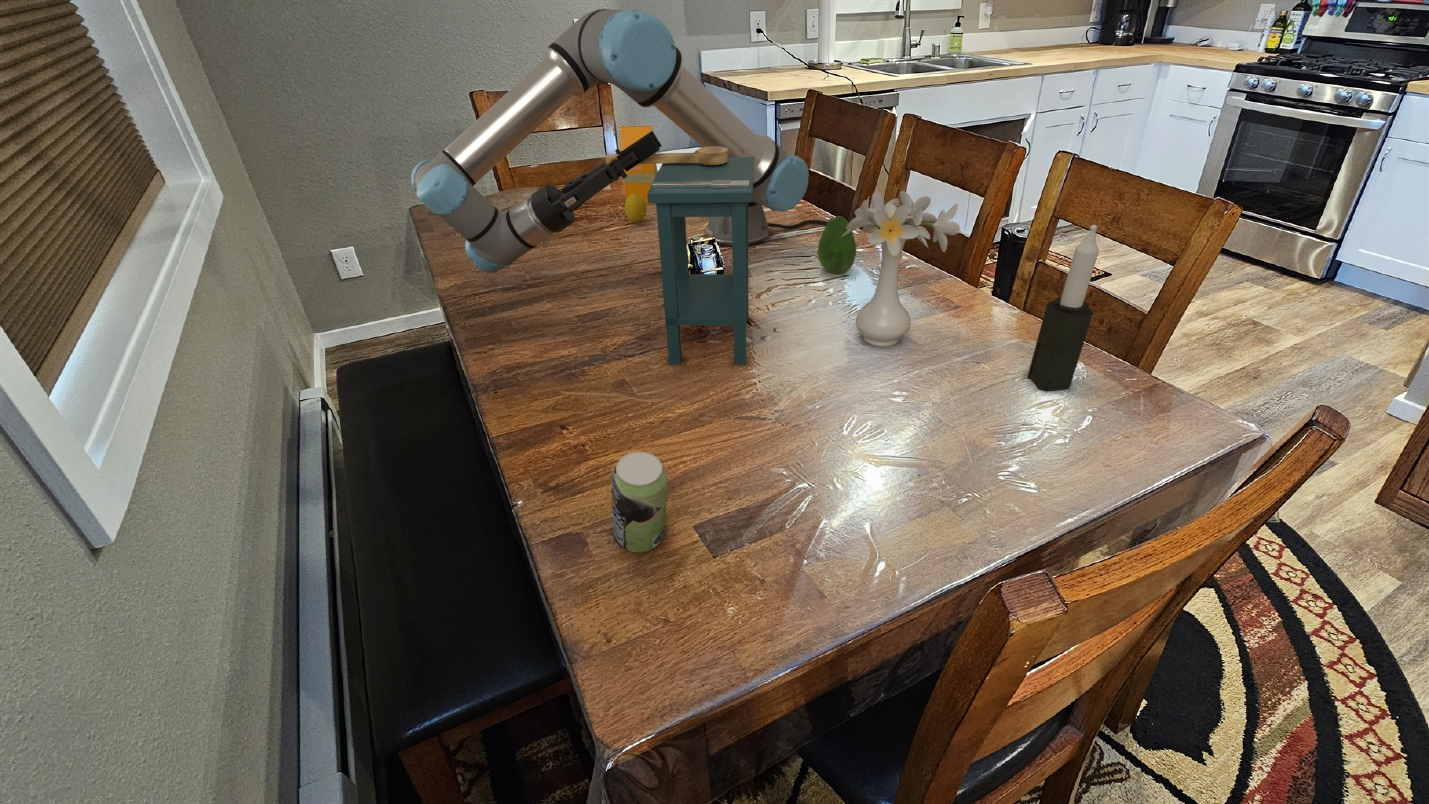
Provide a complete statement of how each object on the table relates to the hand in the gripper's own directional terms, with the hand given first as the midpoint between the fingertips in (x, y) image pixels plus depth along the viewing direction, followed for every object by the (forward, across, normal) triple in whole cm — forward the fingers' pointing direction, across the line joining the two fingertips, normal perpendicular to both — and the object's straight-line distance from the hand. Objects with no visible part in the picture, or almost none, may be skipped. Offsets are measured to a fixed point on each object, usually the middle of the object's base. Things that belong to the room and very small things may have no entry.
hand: (655, 140), depth 105 cm
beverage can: (-13, +56, -30) cm, 65 cm away
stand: (-9, +6, -32) cm, 34 cm away
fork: (+5, +13, -7) cm, 16 cm away
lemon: (-30, -57, -21) cm, 68 cm away
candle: (+37, +20, -60) cm, 73 cm away
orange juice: (-31, -77, -20) cm, 86 cm away
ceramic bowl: (-58, -64, -5) cm, 86 cm away
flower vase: (+17, +5, -48) cm, 51 cm away
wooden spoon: (0, 0, -4) cm, 4 cm away
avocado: (+12, -24, -45) cm, 52 cm away
